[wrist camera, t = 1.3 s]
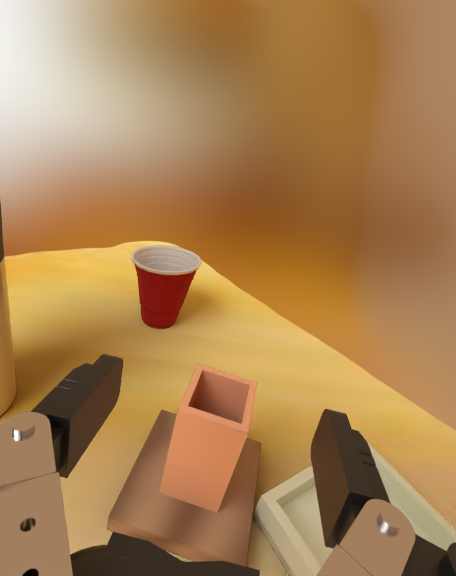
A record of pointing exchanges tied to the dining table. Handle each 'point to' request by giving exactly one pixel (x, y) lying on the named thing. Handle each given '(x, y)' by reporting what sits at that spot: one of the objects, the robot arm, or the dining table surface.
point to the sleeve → (208, 437)
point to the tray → (307, 522)
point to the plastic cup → (163, 281)
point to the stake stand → (186, 505)
